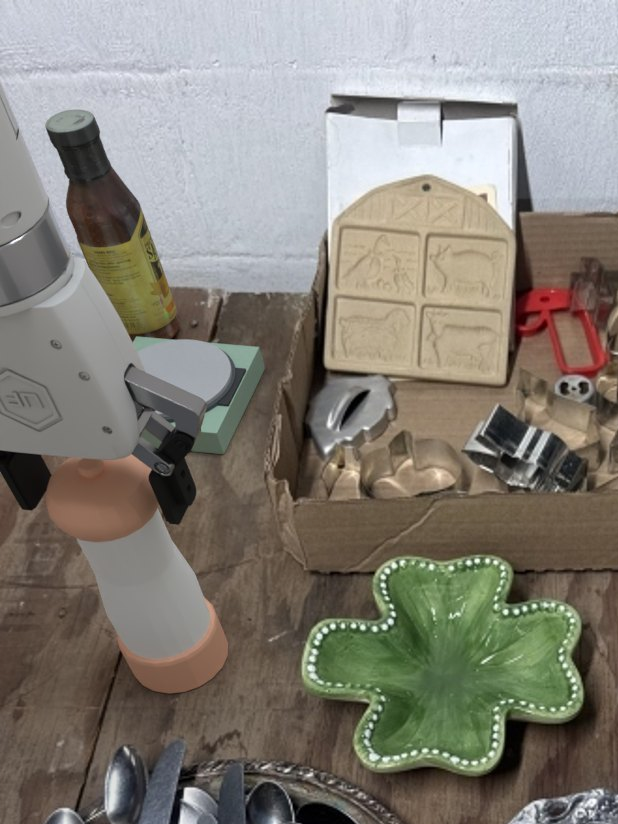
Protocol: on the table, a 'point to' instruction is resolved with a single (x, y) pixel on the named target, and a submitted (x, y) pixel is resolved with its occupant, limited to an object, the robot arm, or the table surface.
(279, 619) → the table surface
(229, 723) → the table surface
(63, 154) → the sauce bottle
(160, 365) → the scale
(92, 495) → the pepper shaker
